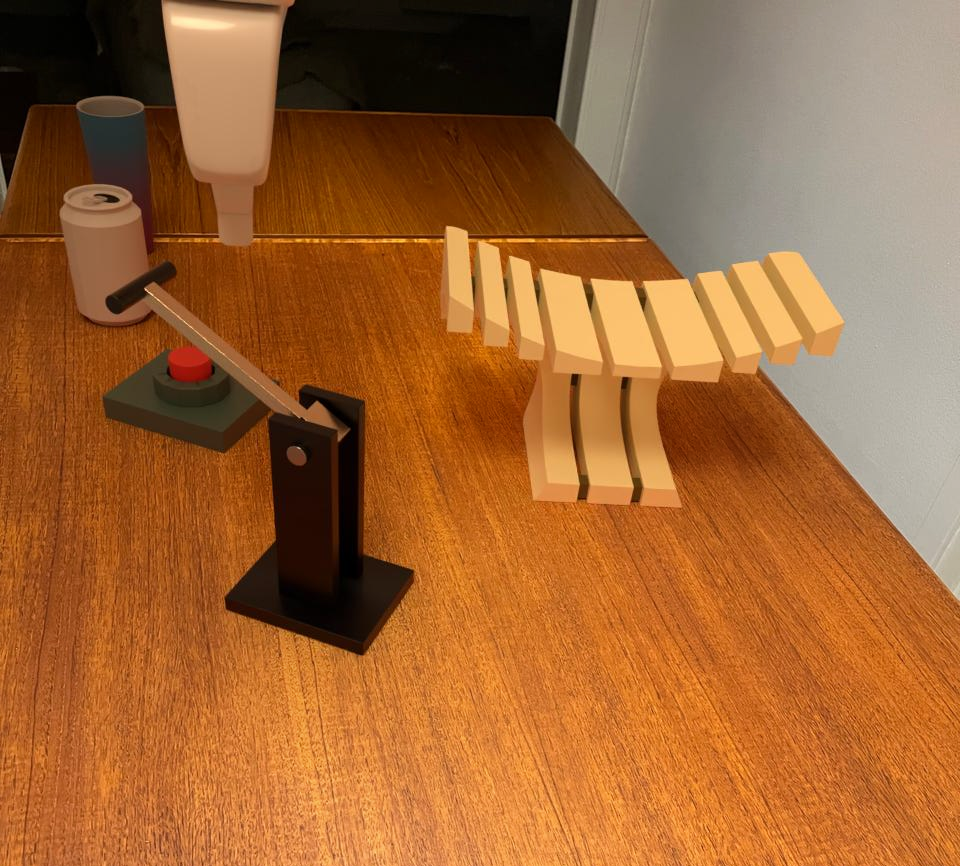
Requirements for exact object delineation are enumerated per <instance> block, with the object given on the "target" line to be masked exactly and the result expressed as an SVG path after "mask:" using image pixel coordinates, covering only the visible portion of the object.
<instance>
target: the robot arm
mask: <svg viewBox="0 0 960 866" xmlns="http://www.w3.org/2000/svg"><path fill="white" fill-rule="evenodd" d="M295 1H296V0H161V10H162V11H161V12H162V20H163V21H162V22H163V29H164V35H165V43H166V50H167V55H168V62H169V63H168V64H169V69H170V75H171V82H172V88H173V93H174V100H175V105H176V111H177V116H178V123H179V128H180V135H181V141H182V145H183V150H184V153H185V157H186V161H187V164H188V167H189V170H190V173H191V175H192V177H193V178H194V179H195V181H198V182H200V183H205V184H210V185H211V190H212V191H211V192H212V195H213V200H214V205H215V209H216V215H217V229H218V230H217V231H218V239H219V241H220V243H221V244H223V245H224V246H226V247H240V248H242V247H243V248H247V247H249V246H251V245H252V244H253V242H254V212H253V211H254V210H253V208H254V191H255V187H258V186H261V185H263V184H264V183H265V182H266V180H267V178H268V175H269V174H268V173H269V169H270V162H271V154H272V145H273V137H274V136H273V135H274V125H275V124H274V123H275V114H276V113H275V112H276V99H277V89H278V88H277V87H278V77H279V76H278V75H279V65H280V64H279V63H280V53H281V46H282V45H281V44H282V36H283V35H282V34H283V28H284V25H285V20H286V16H287V13H288V9H289V7H291V6H293V5H294V4H295Z"/></svg>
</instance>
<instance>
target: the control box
mask: <svg viewBox="0 0 960 866" xmlns="http://www.w3.org/2000/svg"><path fill="white" fill-rule="evenodd" d="M173 350H174V349H168V348H165V350H163V351H162V352H161V353H159V354H158V355H156V356H155V357H153V359H152V358H151V360H149V361H148V362H147V363H146V364H144V365H143V366H141V367H140V368H139V369H138V370H137V369H136V371H135V372H133V373H131V375H129V376H127V378H125V379H124V380H122V381H121V382H119V383H118V384H116V386H114V387H113V388H112V389H110V390H108V391H107V392H106V393H105V394H103V395H102V396H101V398H102V403H103V409H104V414H105V418H106V419H109V420H112V421H115V422H119V423H122V424H125V425H130V426H132V427H135V428H138V429H141V430H145V431H149V432H153V433H156V434H159V435H161V436H165V437H169V438H172V439H175V440H177V441H178V440H179V441H182V442H185V443H189V444H191V445H194V446H198V447H202V448H205V449H208V450H212V451H215V452H218V453H221V454H226V453H227V452H228V451H229V450H230V449H231V448H232V447H234V445H236V444H237V442H239V441H240V440H241V439H242V438H243V437H244V436H245V435H246V434H248V433H249V431H250V430H251V429H253V428H254V427H255V426H256V425H257V424H259V422H261V420H262V419H263V418H264V417H266V416H267V415H268V414H269V413H270V412H271V411H273V410H272V409H271V408H270V407H268V406H267V405H266V404H265V403H264V402H262V401H261V400H260V399H259V398H258V397H256V396H255V395H254V394H253V393H252V392H250V391H249V390H248V389H247V388H246V387H244V386H243V385H242V384H241V383H239V382H238V381H237V380H236V379H235V378H233V377H232V376H231V375H230V374H229V373H227V372H226V371H225V370H224V369H223V368H221V367H220V366H219V365H218V364H217V363H215V362H214V361H213V360H212V359H211V366H212V376H211V377H210V378H209V379H206V380H203V381H199V382H181V381H178V380H174V379H173V378H172V377H171V375H170V368H169V361H168V356H169V354H170V352H172V351H173ZM268 378H269V379H271V380H272V381H273V382H274V383H275V384H277V385H278V386H279V387H280V388H281V381H280V380H278V379H275V378H271V377H268Z"/></svg>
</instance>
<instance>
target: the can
mask: <svg viewBox="0 0 960 866" xmlns="http://www.w3.org/2000/svg"><path fill="white" fill-rule="evenodd" d="M63 202H64V204H63V205H62V207H61V208H60V209H59V218H60V224H61V230H62V234H63V240H64V245H65V250H66V255H67V260H68V261H67V262H68V266H69V271H70V277H71V281H72V286H73V291H74V296H75V302H76V307H77V310H78V312H79V313H80V314H81V315H83V316H84V317H86V318H88V319H89V320H90V321H92V323H95V324H98V325H101V326H106V327H124V326H129V325H133V324H136V323H139V322H141V321H142V320H144V319H145V318H146V317H147V315H149V314H150V313H151V311H153V310H152V309H151V308H149V307H148V306H147V305H146V304H145V303H143V302H142V301H139V302H138V303H136V304H135V305H133V306H132V307H130V308H128V309H127V310H125V311H124V312H122V313H121V314H118V315H116V314H113V313H112V312H110V311H109V310H108V308H107V306H106V304H105V299H106V297H107V296H108V295H110V294H112V293H113V292H115V291H116V290H118V289H120V288H121V287H123V286H124V285H126V284H128V283H129V282H131V281H132V280H134V279H136V278H137V277H139V276H140V275H142V274H144V273H145V272H147V271H149V270H150V266H149V260H148V259H149V258H148V254H147V251H146V244H145V237H144V230H143V222H142V215H141V209H140V208H139V207H138V206H137V205H136V204H135V203H134V202H133V201H132V194H131V193H130V192H129V191H127V190H125V189H123V188H121V187H117V186H113V185H105V184H94V183H92V184H84V185H79V186H76V187H73V188H71V189H69V190H67V192H65V193H64V194H63Z"/></svg>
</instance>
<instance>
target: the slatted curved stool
mask: <svg viewBox="0 0 960 866" xmlns="http://www.w3.org/2000/svg"><path fill="white" fill-rule="evenodd" d="M470 256H471V255H470V246H469V234H468V231H467V230H466V229H462V228H460V227H456V226H451V225H450V226H449V225H446V226H445V229H444V239H443V251H442V266H441V282H440V294H439V295H440V296H439V297H440V298H439V300H440V301H439V302H440V303H439V304H440V320H443V319H445V320H446V332H448V333H462V334H473V328H474V327H473V325H474V318H475V319H479V321H480V328H481V336H482V338H481V339H482V346H483V347H484V346H485V347H502V348H508V347H509V340H510V333H511V329H510V326H511V327H512V330H513V334H514V339H515V344H516V345H515V346H516V352H517V357H518V358H517V359H518V360H524V361H525V360H528V361H537V373H536V378H535V383H534V386H533V389H532V392H531V394H530V398H529V400H528V403H527V406H526V408H525V411H524V415H523V418H522V427H523V433H524V434H523V436H524V442H525V451H526V457H527V458H526V459H527V465H528V473H529V479H530V487H531V494H532V501H535V502H555V503H572V504H573V503H575V504H576V503H578V499H585V501H586V504H593V505H594V504H596V505H612V506H613V505H616V506H631V501H632V502H638V503H639V506H640V507H654V508H655V507H656V508H672V509H673V508H675V509H676V508H677V509H683V506H682V505H683V504H682V502H681V499H680V496H679V492H678V489H677V486H676V484H675V479H674V477H673V474H672V470H671V467H670V464H669V461H668V458H667V455H666V451H665V448H664V444H663V440H662V436H661V433H660V427H659V422H658V412H657V403H658V402H657V401H658V394H659V390H660V388H661V384H662V382H663V381H664V378H665V376H666V375H667V374H668V376H669V378H670V380H672V381H687V382H689V381H690V382H703V383H719V379H720V375H721V372H722V369H723V365H724V361H725V360H726V362H727V364H728V367H729V369H730V370H731V373H735V374H737V373H738V374H752V375H756V374H757V371H758V368H759V364H760V361H761V358H762V355H763V353H764V354H765V356H766V358H767V360H768V362H769V364H771V365H782V366H783V365H785V366H794V365H795V363H796V361H797V357H798V354H799V351H800V348H801V345H803V347H804V349H805V351H806V352H807V354H808V355H809V356H819V357H833V356H834V353H835V351H836V348H837V345H838V343H839V340H840V337H841V334H842V331H843V328H844V326H845V320H844V319H843V317H842V316H841V314H840V313H839V311H838V310H837V309H836V306H834V303H833V302H832V301H831V299H830V298H829V296H828V295H827V292H825V289H824V288H823V287H822V285H821V283H820V282H819V281H818V280H817V278H816V276H815V275H814V273H813V272H812V269H810V267H809V265H808V264H807V262H806V261H805V259H804V258H803V256H802V255H801V254H800V253H799V252H797V251H776V252H770V253H767V254H766V256H764V259H763V260H762V262H761V264H760V262H759V260H753V261H745V262H740V263H733V264H731V265H730V267H729V269H728V271H727V274H726V276H725V274H724V272H723V270H716V271H708V272H699V273H697V274H696V275H695V278H694V281H693V283H692V286H691V282H690V281H689V279H688V278H681V279H664V280H643V281H642V282H641V285H640V287H635V284H634V282H633V280H612V279H601V278H592V277H591V278H590V280H589V282H588V283H583V280H582V277H581V276H579V275H573V274H568V273H562V272H557V271H553V270H549V269H544V268H539V271H538V274H537V278H536V280H534V279H533V273H532V268H531V263H530V262H531V261H528V260H526V259H522V258H519V257H516V256H513V255H509V256H508V259H507V264H506V268H505V269H506V270H505V277H504V278H503V269H502V263H501V256H500V248H499V246H495V245H492V244H491V243H487V242H485V241H481V240H477V243H476V249H475V256H474V266H473V275H472V269H471V258H470ZM723 356H724V358H725V360H724V358H723ZM573 440H574V443H573ZM574 446H575V450H576V455H577V460H578V465H579V471H580V474H578V469H577V468H578V467H577V463H576V457H575V450H574Z"/></svg>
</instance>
